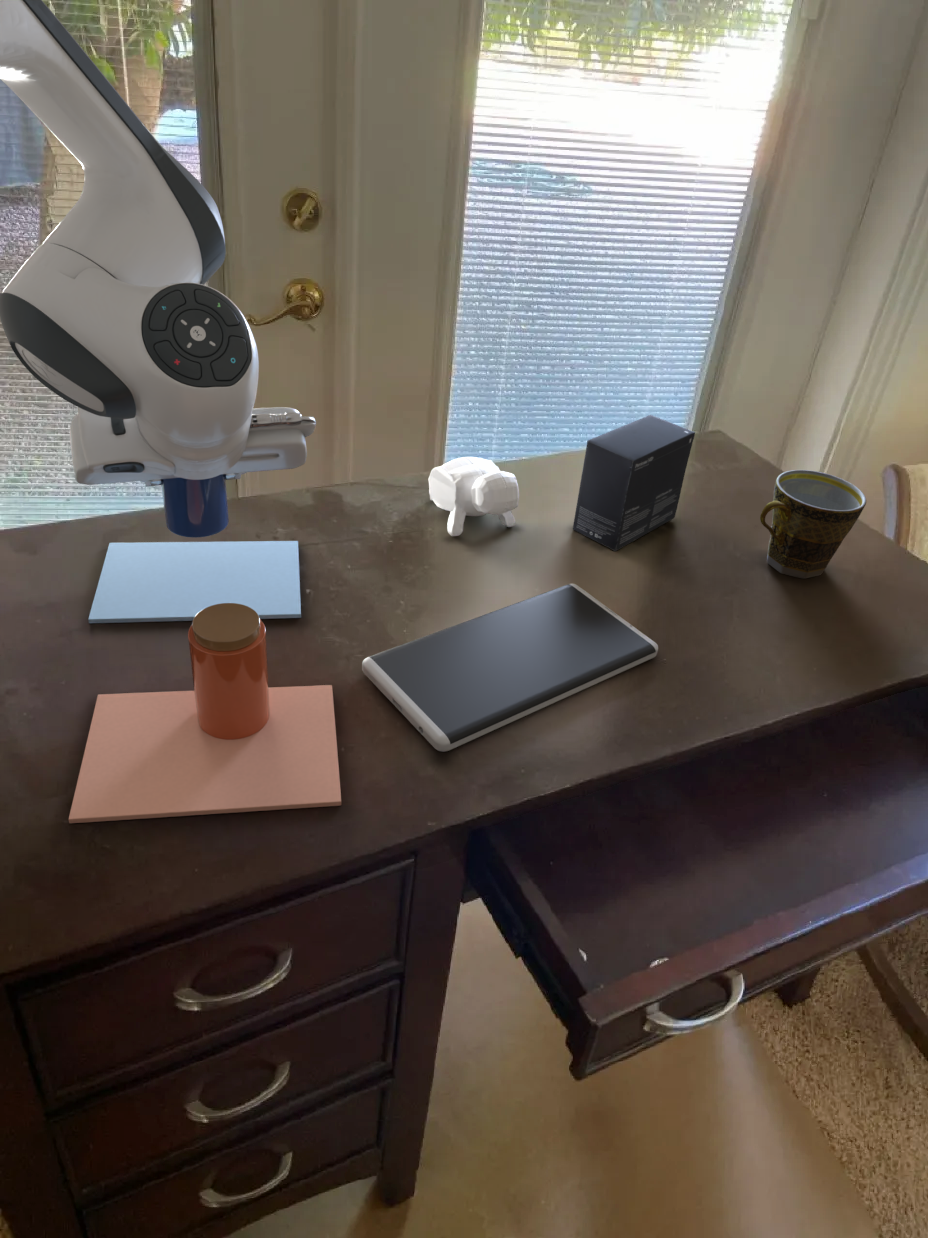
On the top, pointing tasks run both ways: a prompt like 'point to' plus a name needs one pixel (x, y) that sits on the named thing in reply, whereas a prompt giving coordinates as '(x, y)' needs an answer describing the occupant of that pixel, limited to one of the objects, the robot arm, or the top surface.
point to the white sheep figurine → (473, 491)
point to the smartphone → (506, 664)
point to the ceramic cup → (809, 520)
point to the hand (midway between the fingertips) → (191, 475)
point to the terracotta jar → (229, 670)
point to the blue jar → (195, 506)
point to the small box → (632, 480)
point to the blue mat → (196, 580)
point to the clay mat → (205, 758)
